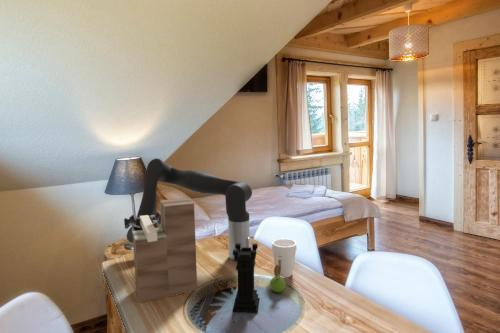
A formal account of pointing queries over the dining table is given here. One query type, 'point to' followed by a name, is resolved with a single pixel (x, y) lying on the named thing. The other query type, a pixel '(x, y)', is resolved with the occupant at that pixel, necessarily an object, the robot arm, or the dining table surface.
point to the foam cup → (284, 255)
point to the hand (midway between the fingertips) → (145, 216)
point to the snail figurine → (277, 278)
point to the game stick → (148, 228)
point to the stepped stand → (167, 253)
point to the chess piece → (245, 280)
